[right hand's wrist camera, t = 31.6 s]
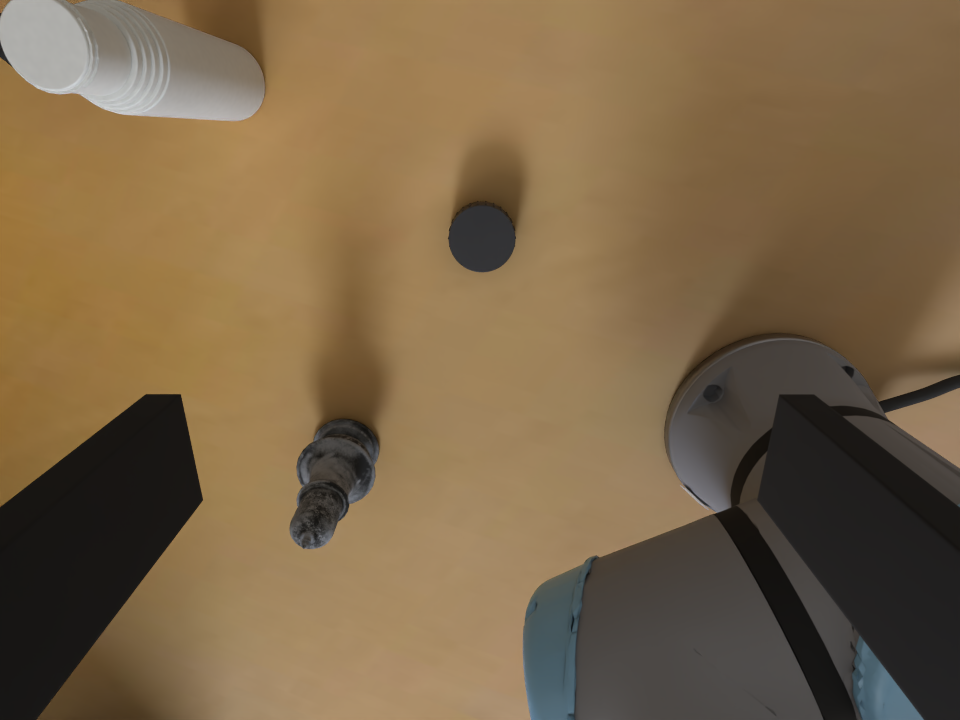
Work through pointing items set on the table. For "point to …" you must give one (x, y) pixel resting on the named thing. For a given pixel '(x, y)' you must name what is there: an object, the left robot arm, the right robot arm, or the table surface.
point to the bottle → (130, 60)
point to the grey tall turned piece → (332, 479)
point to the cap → (482, 237)
